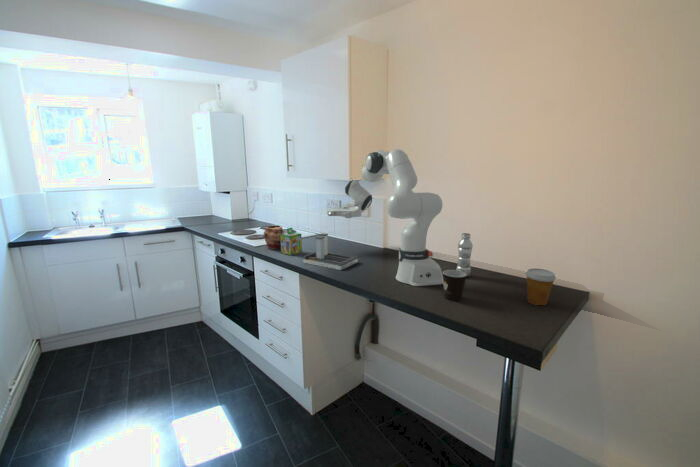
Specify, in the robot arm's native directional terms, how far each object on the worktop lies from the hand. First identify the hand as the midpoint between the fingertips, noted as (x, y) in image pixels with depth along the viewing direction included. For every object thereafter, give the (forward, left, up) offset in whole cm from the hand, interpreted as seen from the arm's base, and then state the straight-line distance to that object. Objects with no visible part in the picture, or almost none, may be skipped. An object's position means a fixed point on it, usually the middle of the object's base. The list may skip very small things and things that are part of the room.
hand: (336, 215), depth 180 cm
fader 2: (+7, +9, -21) cm, 24 cm away
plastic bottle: (-60, +38, -23) cm, 75 cm away
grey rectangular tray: (+3, +16, -23) cm, 28 cm away
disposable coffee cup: (-77, +68, -23) cm, 106 cm away
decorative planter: (+40, -16, -23) cm, 49 cm away
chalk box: (+27, -4, -23) cm, 36 cm away
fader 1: (+8, +17, -21) cm, 28 cm away
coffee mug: (-47, +62, -23) cm, 81 cm away
